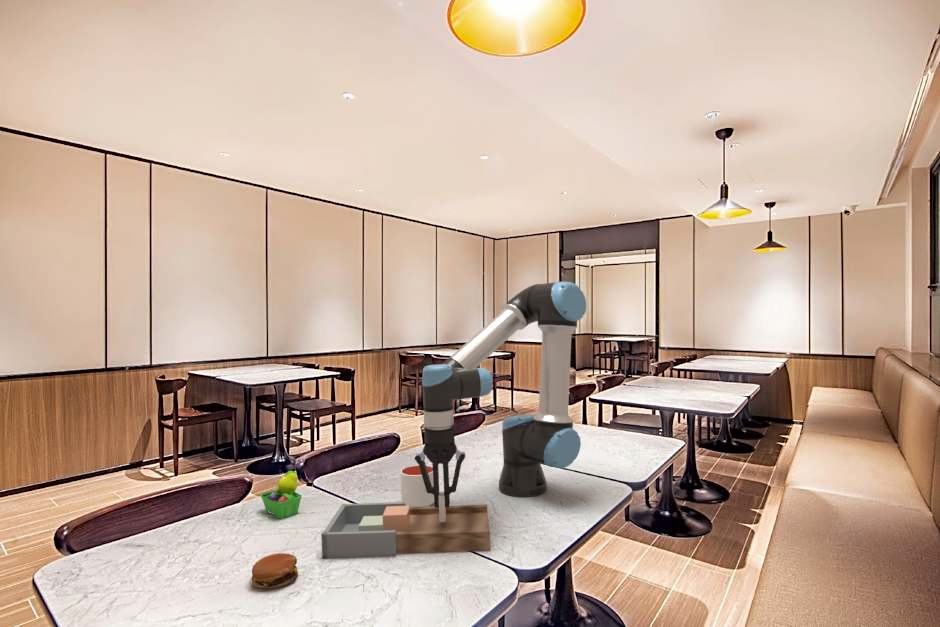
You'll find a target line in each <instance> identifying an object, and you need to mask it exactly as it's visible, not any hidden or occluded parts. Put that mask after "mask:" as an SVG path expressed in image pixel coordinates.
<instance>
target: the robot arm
mask: <svg viewBox="0 0 940 627" xmlns="http://www.w3.org/2000/svg"><path fill="white" fill-rule="evenodd" d="M586 300H587V299H586V296H585V294H584V292H583V291H582V290H581V288H580V286H578V284H575V283H574V282H571V281H556V282H549V283H548V282H546V283H537V284H533V285H529V286H527V287H526V288H524V289H522V290H520V292H518V293H517V294H516V295H514V296H513V297H512V298H511V299H510V300H508V301H507V302H506V303H505V304H504V305H503V306H502V308H501V312H500V313H498V314H497V315H496V316H495V317H494V318H493V319H492V320H491V321H489V322H488V323H487V324H486V325H485V326H484V327H482V329H480V330H479V331H478V332H477V333H475V334H474V335H473V336H472V337H471V338H470V339H469V340H468V341H467V342H466V343H464V344H463V345H462V346H461V347H460V348H458V349H457V350H456V352H454V353H453V354H452V355H451V356H449V358H448V359H446V360H445V361H444V362H443V363H442V364H441V363H439V364H430V365H426V366H424V367H423V369H422V378H421V381H422V382H421V387H422V401H423V404H422V405H423V406H422V407H423V410H422V411H423V426H424V429H423V430H424V431H423V433H424V446H423V447H422V448H423V449H422V451H420V452H419V453H416V454H415V456H414V461H416V463H417V464H418V466H419V467H420V470H421V474H422V477H423V481H424V484H425V488H426V491H427V493H431V494H433V495H434V503H433V504H434V505H433V506H435V508H439V522H445V521H446V507H449V506H451V503H450V502H451V500H450V499H451V497H450V495H451V494H452V493H456V492H457V487H458V482H459V477H460V473H461V467H462V463H463V462H464V460H465V458H466V452H465V451H461V450H459V449H458V447H457V445H456V443H455V442H456V441H455V427H454V426H453V425H454V424H455V420H454V419H455V418H454V401H458V400H459V401H461V400H466V399H474V398H480V397H484V396H488V395H489V394H490V393H491V392H492V390H493V387H494V384H493V383H494V382H493V381H494V380H493V376H492V374H491V372H490V371H489V370H488V369H487V368H485V367H479V366H480V365H481V364H483V362H484V361H485V360H486V359H487V358H489V357H490V356H492V354H493V353H494V352H495V351H497V349H499V348H500V347H501V346H502V345H503V344H504V343H505V342H506V341H507V340H508V339H509V338H510V337H512V336H513V335H514V334H515V333H516V332H517V331H518V330H519V331H520V330H524V329H525V328H526V327H527V326H528V325H531V324H533V323H537V327H538V328H539V330H540V331H541V332H542V334H541V354H540V355H541V358H540V378H539V379H540V380H539V399H538V400H539V401H538V402H539V403H538V413H536V414H532V413H531V414H518V415H513V416H507V417H505V418H504V419H502V430H501V434H502V453H503V454H502V456H503V466H502V469H501V473H500V476H499V480H498V490H499V492H501V493H502V494H504V495H506V496H507V495H508V496H511V497H521V498H522V497H525V498H526V497H535V496H539V495H542V494H544V493H546V491H547V490H548V486H547V485H548V482H547V479H546V476H545V474H544V470H543V468H542V465H541V464H543V465H546V466H547V467H549V468H558V469H565V468H567V467H569V466H570V465H572V464H573V463H574V461H575V460H576V459H577V457H578V456H579V454H580V449H581V446H582V445H581V442H582V441H581V437H580V435H579V433H578V432H577V431H576V430H575V429H574V421H573V419H572V418H571V416H570V415H569V398H570V397H569V396H570V377H571V376H570V375H571V374H570V373H571V355H572V353H571V352H572V334H573V332H574V331H575V330H577V328H578V321H580V320H581V319H582V318H583V317H584V315H585V313H586V312H587V311H586V310H587V301H586ZM454 456H455V459H456V462H455V463H456V464H455V468H454V472H453V479H452V484H451V485H450V473H449V468H450V467H449V463H450V462H451V460H452V459H453V458H454ZM426 458H427V459H428V461H429V462H430V463H431V464H432V467H433V486H434V487H432V485H431V482H430V478H429V475H428V471H427V468H426V466H427V465H426V460H425V459H426ZM440 464H441V465H442V472H443V474H442V477H443V491H441V492H440V477H439V476H440V474H439V472H440V471H439V465H440Z"/></svg>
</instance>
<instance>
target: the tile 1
mask: <svg viewBox="0 0 940 627" xmlns="http://www.w3.org/2000/svg"><path fill="white" fill-rule="evenodd" d="M359 531H383V516H364V517H363V518H362V520H361V522H360V524H359Z"/></svg>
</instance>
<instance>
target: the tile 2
mask: <svg viewBox="0 0 940 627" xmlns="http://www.w3.org/2000/svg"><path fill="white" fill-rule="evenodd" d="M409 524H410V506H387V507H386V509H385V511H384V514H383V530H396V531H408V528H409Z"/></svg>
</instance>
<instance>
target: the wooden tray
mask: <svg viewBox="0 0 940 627" xmlns="http://www.w3.org/2000/svg"><path fill="white" fill-rule="evenodd" d="M488 511H489V510H488V504H467V505H464V504H463V505H461V504H460V505H458V504H457V505H449V507H446V521H445V522H439V508H435V506H434V505H431V506H428V507H410V524H409V528H408V531H399V532H397V534H396V545H397V555H398V554H424V553H425V554H426V553H427V554H428V553H429V554H430V553H433V554H434V553H457V552H458V553H461V552H463V553H464V552H488V551H489V552H490V551H491V533H490V532H491V531H490V523H489V514H488V513H489V512H488Z"/></svg>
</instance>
